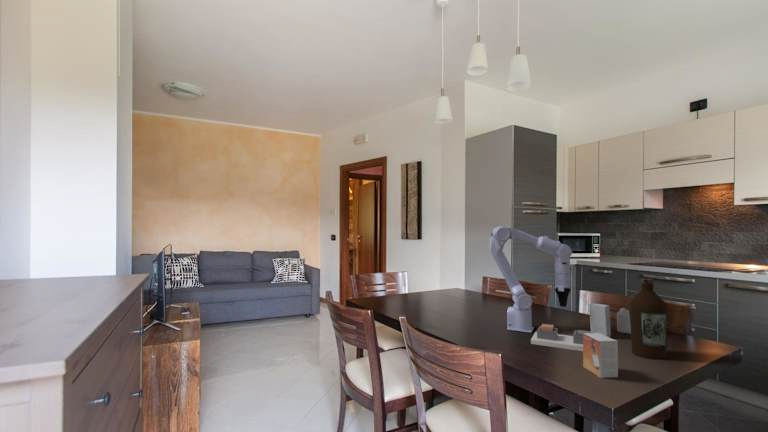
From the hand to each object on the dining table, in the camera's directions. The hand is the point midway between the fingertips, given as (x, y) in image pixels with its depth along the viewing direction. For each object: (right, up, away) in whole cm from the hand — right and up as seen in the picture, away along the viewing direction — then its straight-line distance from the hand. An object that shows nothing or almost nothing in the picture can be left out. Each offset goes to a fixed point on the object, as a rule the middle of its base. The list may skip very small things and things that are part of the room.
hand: (563, 306), depth 153 cm
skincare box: (+11, -10, -8) cm, 17 cm away
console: (-7, -10, -17) cm, 21 cm away
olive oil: (+15, -9, -28) cm, 33 cm away
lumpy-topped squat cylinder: (+29, -10, -1) cm, 30 cm away
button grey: (-2, -8, -20) cm, 21 cm away
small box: (-10, -9, -43) cm, 45 cm away
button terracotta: (-12, -7, -14) cm, 20 cm away
